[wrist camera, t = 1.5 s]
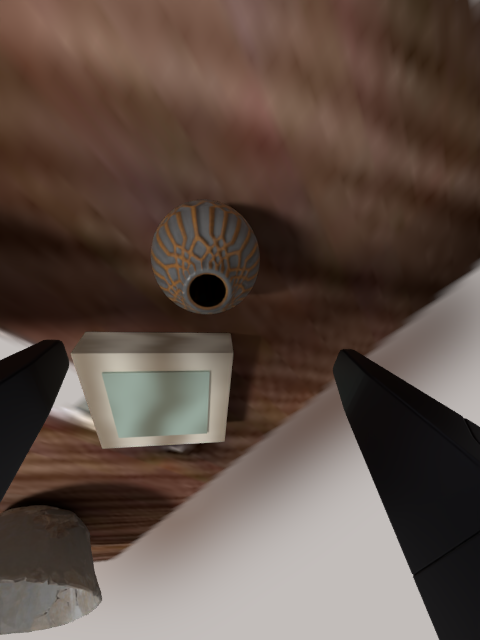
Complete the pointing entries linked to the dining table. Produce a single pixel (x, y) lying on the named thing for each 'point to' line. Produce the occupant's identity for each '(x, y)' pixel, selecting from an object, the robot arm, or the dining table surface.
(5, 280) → the dining table surface
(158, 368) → the plinth
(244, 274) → the vase
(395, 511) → the robot arm
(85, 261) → the dining table surface
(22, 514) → the ceramic bowl
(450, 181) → the dining table surface
